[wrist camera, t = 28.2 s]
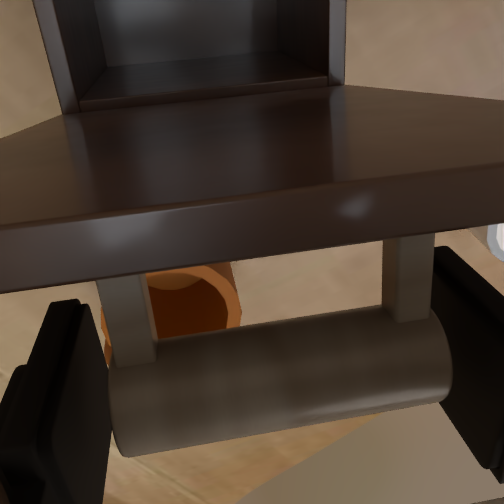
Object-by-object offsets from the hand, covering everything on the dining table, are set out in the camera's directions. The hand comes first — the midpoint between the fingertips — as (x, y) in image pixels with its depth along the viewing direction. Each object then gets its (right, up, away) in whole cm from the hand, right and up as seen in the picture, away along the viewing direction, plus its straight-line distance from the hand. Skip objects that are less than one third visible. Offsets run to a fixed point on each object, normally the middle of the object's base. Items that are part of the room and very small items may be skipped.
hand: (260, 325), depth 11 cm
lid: (-1, +5, +2) cm, 6 cm away
